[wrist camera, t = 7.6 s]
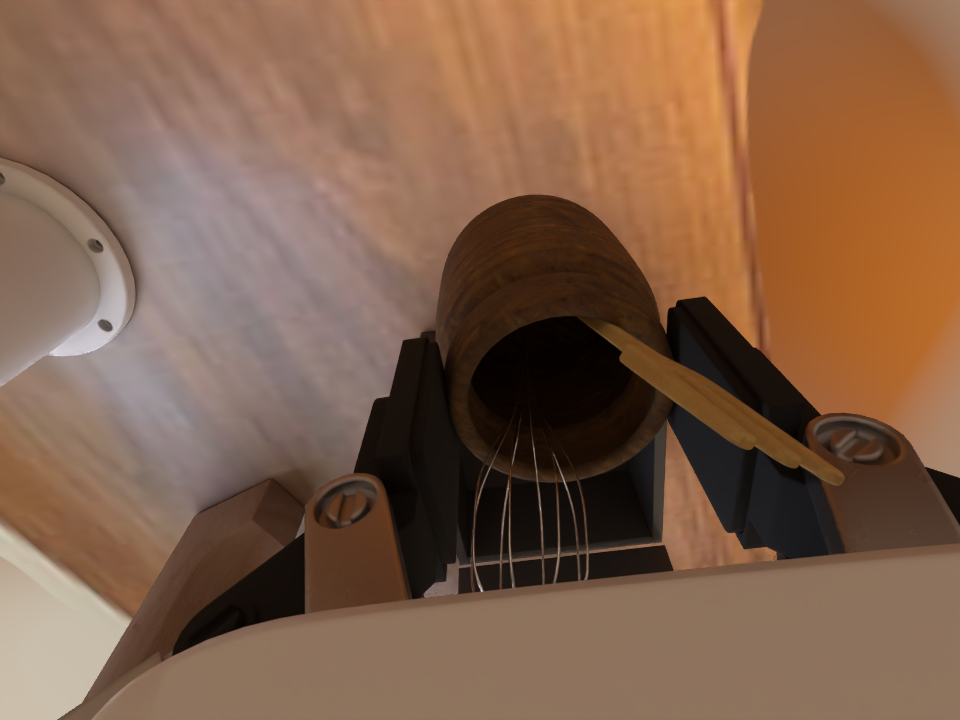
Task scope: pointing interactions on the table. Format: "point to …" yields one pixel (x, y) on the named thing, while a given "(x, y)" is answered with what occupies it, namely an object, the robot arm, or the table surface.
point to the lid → (567, 569)
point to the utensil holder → (569, 357)
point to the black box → (561, 507)
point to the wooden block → (205, 570)
